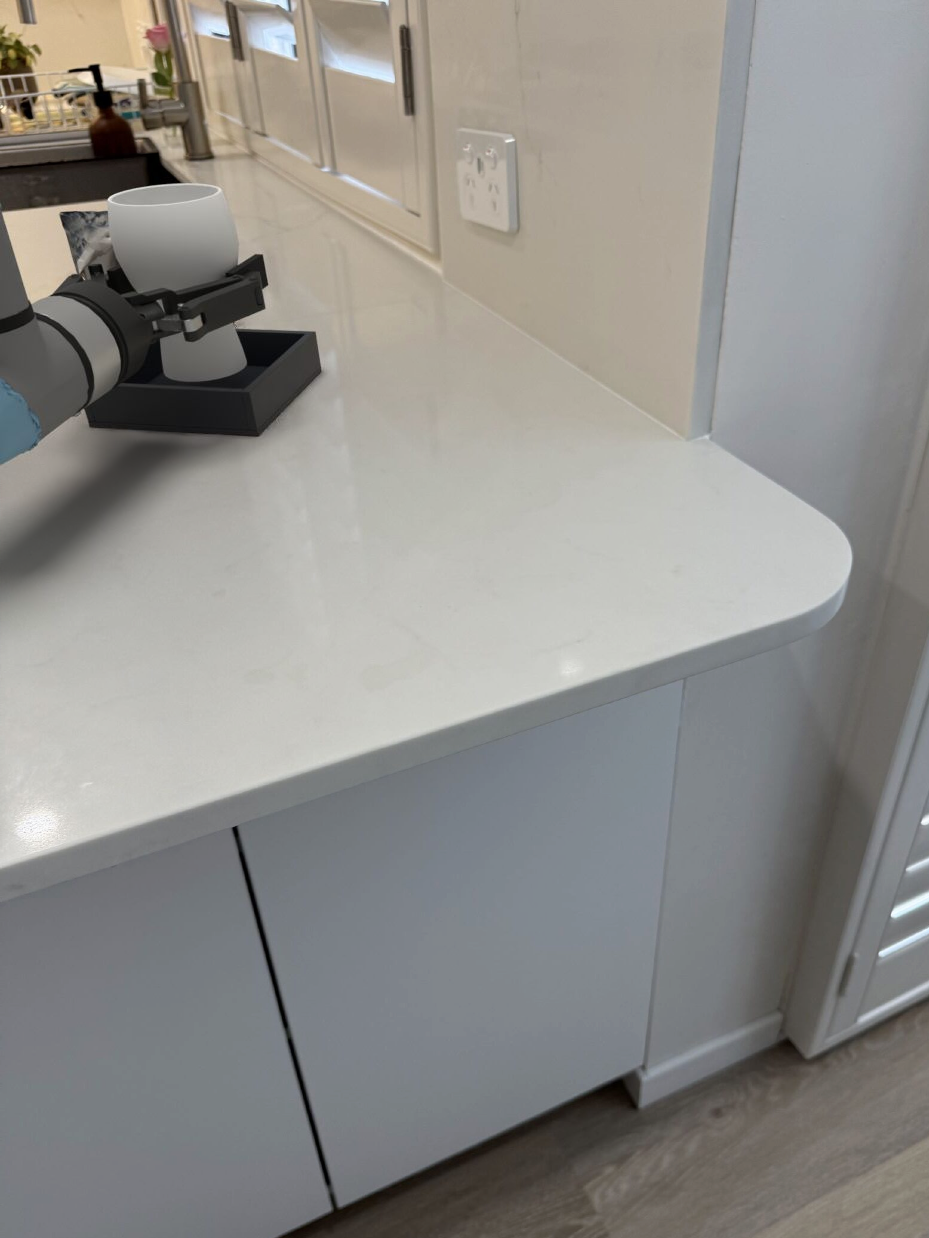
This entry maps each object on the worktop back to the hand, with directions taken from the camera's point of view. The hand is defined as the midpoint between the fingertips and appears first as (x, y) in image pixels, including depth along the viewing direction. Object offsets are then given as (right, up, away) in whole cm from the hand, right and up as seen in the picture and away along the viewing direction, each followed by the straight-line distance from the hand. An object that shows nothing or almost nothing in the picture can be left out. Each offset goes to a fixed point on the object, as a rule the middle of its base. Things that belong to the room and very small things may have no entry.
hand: (205, 268), depth 88 cm
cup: (-1, -9, +2) cm, 9 cm away
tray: (-1, -11, +4) cm, 12 cm away
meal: (-11, +1, +20) cm, 23 cm away
